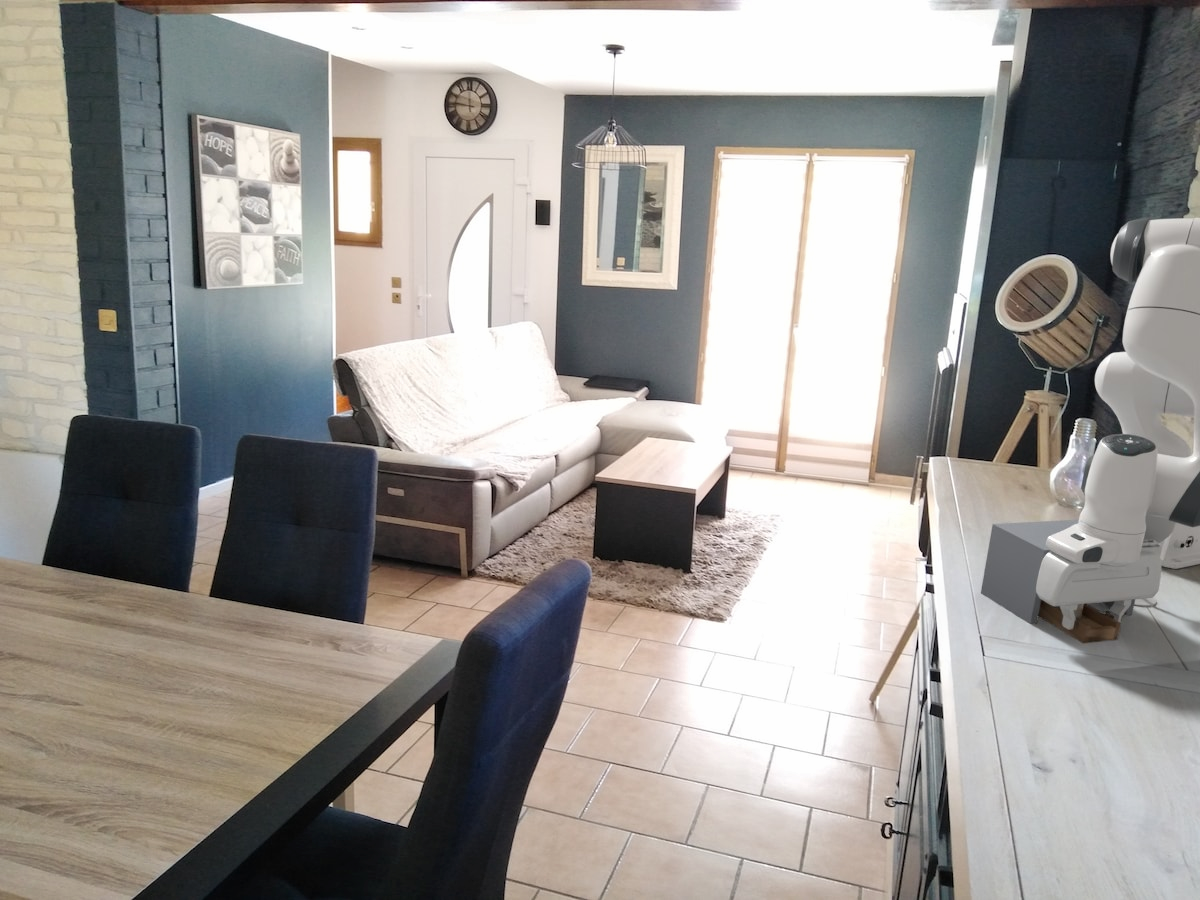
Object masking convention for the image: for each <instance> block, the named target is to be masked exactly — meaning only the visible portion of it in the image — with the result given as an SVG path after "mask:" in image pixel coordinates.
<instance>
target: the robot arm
mask: <svg viewBox="0 0 1200 900" xmlns="http://www.w3.org/2000/svg"><path fill="white" fill-rule="evenodd" d="M1110 263H1111V266H1112V267H1111V268H1112V272H1113V273H1114V274H1115V275H1116V276H1117V278H1118V279H1120V280H1122V281H1125V282H1128V283H1129V284H1131V285H1134V287H1133V290H1132V293H1131V295H1130V299H1129V303H1128V305H1127V310H1126V315H1125V318H1124V324H1123V330H1122V345H1123V346H1122V347H1123V349H1124V351H1119V352H1112V353H1110V354H1108V355H1107V356H1105V358H1104V359H1103V360H1102V361H1101V362H1100V363H1099V365H1098V366H1097V369H1096V371H1095V374H1094V386H1095V389H1096V392H1097V394H1098V397H1100V399H1101V400H1102V401H1103V402H1105V404H1107V405H1108V407H1110V408H1111V410H1112V411H1113V413H1114V415H1116V417H1117V419H1118V422H1119V424H1120V427H1121V431H1122V433H1118V434H1110V435H1107V436H1104V437H1102V439H1101V440H1100V441H1099V443H1098V445H1097V446H1096V447H1097V448H1096V450H1095V453H1094V454H1093V455H1091V456H1089V457H1088V458H1087V460H1086V462H1085V466H1084V471H1083V476H1082V480H1081V486H1080V489H1081V491H1082V493H1083V495H1084V497H1085V498H1084V500H1085V502H1084V507H1083V509H1082V511H1081V512H1080V514H1079V518H1078V520H1079V522H1078V524H1074V525H1073V526H1071V527H1069V528H1067V529H1065V530H1063V531H1061V532H1058V533H1056V534H1053V535H1051V536H1049V537H1048V538H1047V541H1046V548H1047V549H1049V550H1051V551H1050V552H1049V553H1047V554H1046V555H1045V557H1044V558H1043V560H1042V563H1041V567H1040V570H1039V575H1038V580H1037V585H1036V593H1037V595H1038V597H1039V598H1040V599H1041V600H1043V601H1045V602H1046V603H1048V604H1050V605H1052V606H1060V609H1061V611H1062V614H1063V615H1064V616H1063V621H1062V625H1063V627H1065V628H1067V629H1068V630H1070V629H1077V628H1078V624H1079V621H1080V619H1078V618H1077V617H1075V615H1074V611H1073V610H1077V606H1078V604H1087V605H1088V604H1096V603H1102V602H1111V601H1115V602H1114V604H1113V606H1112V607H1110V609H1109V610H1105V612H1104V614H1105V615H1107V616H1109V617H1111V618H1112V619H1114V620H1116V621H1118V622H1120V623H1121V621H1122V620H1121V619H1122V617H1123V616H1124V613H1125V612H1126V610H1127V609H1128V608H1129V607H1130V605H1131V601H1132V600H1133V599H1145V598H1155V596H1156V595H1157V593H1158V592H1159V590H1160V583H1161V578H1162V577H1161V575H1162V567H1165V568H1169V569H1174V570H1175V569H1176V570H1177V569H1183V568H1186V567H1193V566H1196V565H1200V217H1195V218H1189V217H1188V218H1187V217H1183V218H1181V217H1180V218H1160V219H1151V218H1149V217H1147V218H1138V219H1132V220H1129V221H1128V222H1126V223H1125V224H1124V225H1123V226H1121V227H1120V229H1119V231H1118V233H1117V234H1116V236H1115V237H1114V239H1113V242H1112V243H1111V247H1110ZM1163 414H1168V415H1175V416H1182V417H1188V418H1193V441H1192V442H1193V443H1192V444H1193V445H1192V446H1193V447H1192V449H1191V447H1190V445H1189V444H1188V442H1187V441H1186V440H1185V439H1184V438H1183V437H1181V436H1180V435H1178V434H1177V433H1176V432H1173V431H1172V430H1170V429H1169V428H1168V427H1166V426H1165V425H1164V423H1163V422H1162V419H1161V418H1162V417H1161V415H1163ZM1191 450H1192V451H1191ZM1146 515H1150V516H1154V517H1159V518H1164V519H1169V521H1172V522H1176V524H1175V527H1174V530H1173V532H1172V533H1171V534H1170V536H1169V537H1167V538H1166V539H1165V540H1163V541H1162V542H1160V543H1157V542H1156V541H1155V540H1153V539H1147V540H1144V535H1145V531H1146V522H1145V516H1146Z"/></svg>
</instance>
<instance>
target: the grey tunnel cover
mask: <svg viewBox="0 0 1200 900" xmlns="http://www.w3.org/2000/svg"><path fill="white" fill-rule="evenodd" d="M1078 522H1079V519H1066V520H1064V519H1063V520H1062V519H1061V520H1048V521H1047V520H1046V521H1045V520H1043V521H1027V522H1026V521H1025V522H1008V523H1007V522H1005V523H1004V522H1002V523H992V525H991V531H990V537H989V544H988V549H987V555H986V561H985V567H984V573H983V578H982V585H981V588H980V589H981V590H980V594H982V595H983V596H984V597H986V598H988V599H989V600H990V601H991V600H992V601H993V602H995V603H996V604H997V605H1000V606H1001V607H1002V608H1005V609H1006V610H1007V611H1009V612H1010V613H1012V614H1014V615H1015V616H1017V617H1018V618H1020V619H1022V620H1023V621H1025V622H1027V624H1030V625H1034V624H1037V622H1038V619H1039V618H1038V617H1039V616H1038V613H1039V608H1040V603H1041V599H1040V598H1039V597H1038V595H1037V593H1036V585H1037V580H1038V575H1039V570H1040V567H1041V563H1042V560H1043V558H1044V557H1045V555H1046V554H1047V553H1049V552H1050V551H1051V550H1049V549H1047V548H1046V541H1047V538H1048V537H1049V536H1051V535H1053V534H1056V533H1058V532H1061V531H1063V530H1065V529H1067V528H1069V527H1071V526H1073V525H1074V524H1078ZM1114 602H1115V601H1111V602H1101V603H1102V604H1104V605H1106V606H1107V607H1109V608H1111V607H1112V606H1113V604H1114ZM1134 604H1135V599H1133V600H1132V601H1131V605H1130V607H1129V608H1128V609H1127V610H1126V612H1125V613H1124V614H1123V616H1124V615H1125V616H1133V612H1134V608H1135V605H1134Z"/></svg>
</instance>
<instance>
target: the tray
mask: <svg viewBox="0 0 1200 900" xmlns="http://www.w3.org/2000/svg"><path fill="white" fill-rule="evenodd" d="M1073 611H1074V615H1075V617H1077V618H1078V619H1080V621H1079V624H1078V628H1077V629H1070V630H1068V629H1067V628H1065V627H1063V625H1062V621H1063V616H1064V615H1063V614H1062V611H1061V609H1060V606H1052V605H1050V604H1048V603H1046V602H1045V601H1043V600H1041V603H1040V608H1039V613H1038V617H1039V618H1041V619H1042V620H1044V621H1046V622H1047V623H1048V624H1050V625H1052V626H1053V627H1056V628H1057V629H1059V630H1061V631H1062V632H1064V633H1065V634H1067V635H1069V636H1070V637H1072V638H1074V639H1076V640H1077V641H1079V642H1080V643H1082V644H1086V643H1097V642H1107V641H1117V640H1118V638H1119V633H1120V631H1121V630H1120V629H1121V624H1122V623H1121V621H1120V622H1118V621H1116V620H1114V619H1112V618H1111V617H1109V616H1107V615H1105V613H1104V612H1102V611H1100V610H1097V609H1096V608H1095V607H1092V606H1090V604H1089V605H1088V604H1078V606H1077V610H1073Z"/></svg>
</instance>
